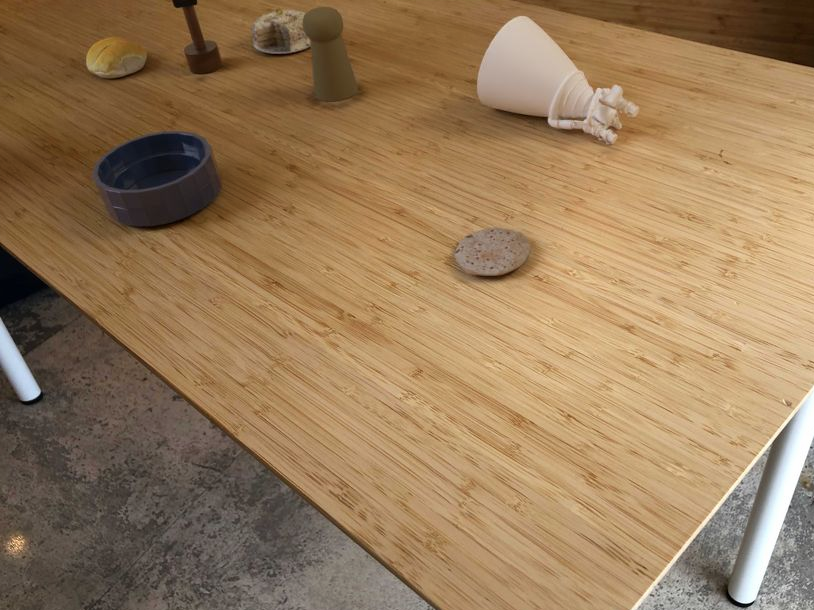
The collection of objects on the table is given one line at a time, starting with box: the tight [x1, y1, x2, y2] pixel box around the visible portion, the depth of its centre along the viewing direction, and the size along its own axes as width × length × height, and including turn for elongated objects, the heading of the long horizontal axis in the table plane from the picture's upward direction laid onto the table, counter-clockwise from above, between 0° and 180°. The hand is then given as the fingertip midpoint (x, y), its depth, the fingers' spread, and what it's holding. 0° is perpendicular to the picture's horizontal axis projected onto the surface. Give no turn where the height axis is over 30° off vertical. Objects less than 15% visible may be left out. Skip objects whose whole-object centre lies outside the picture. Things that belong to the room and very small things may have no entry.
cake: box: [251, 8, 311, 55], centre depth 128 cm, size 10×10×5 cm
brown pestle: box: [181, 5, 223, 75], centre depth 120 cm, size 5×5×15 cm
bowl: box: [91, 130, 222, 227], centre depth 98 cm, size 13×13×5 cm
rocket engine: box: [476, 15, 640, 145], centre depth 102 cm, size 12×12×18 cm
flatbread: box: [454, 226, 532, 277], centre depth 86 cm, size 8×8×1 cm
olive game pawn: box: [303, 6, 359, 102], centre depth 112 cm, size 6×6×11 cm
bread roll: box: [85, 36, 148, 80], centre depth 126 cm, size 8×9×4 cm
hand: (186, 1), depth 119 cm, fingers closed on brown pestle
